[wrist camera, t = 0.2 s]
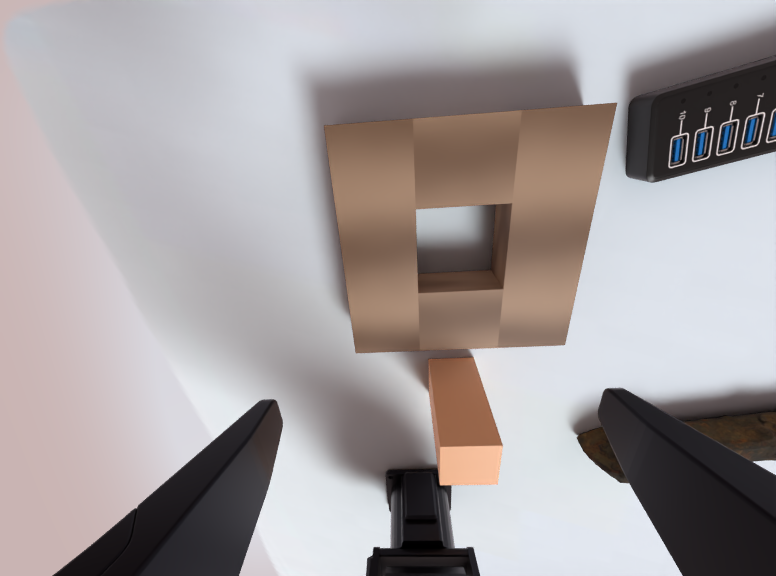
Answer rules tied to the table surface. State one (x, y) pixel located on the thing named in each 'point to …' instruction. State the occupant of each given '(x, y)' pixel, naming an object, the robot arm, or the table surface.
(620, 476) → the brown long rough piece
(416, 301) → the socket block
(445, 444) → the peg
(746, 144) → the multiport hub
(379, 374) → the table surface
